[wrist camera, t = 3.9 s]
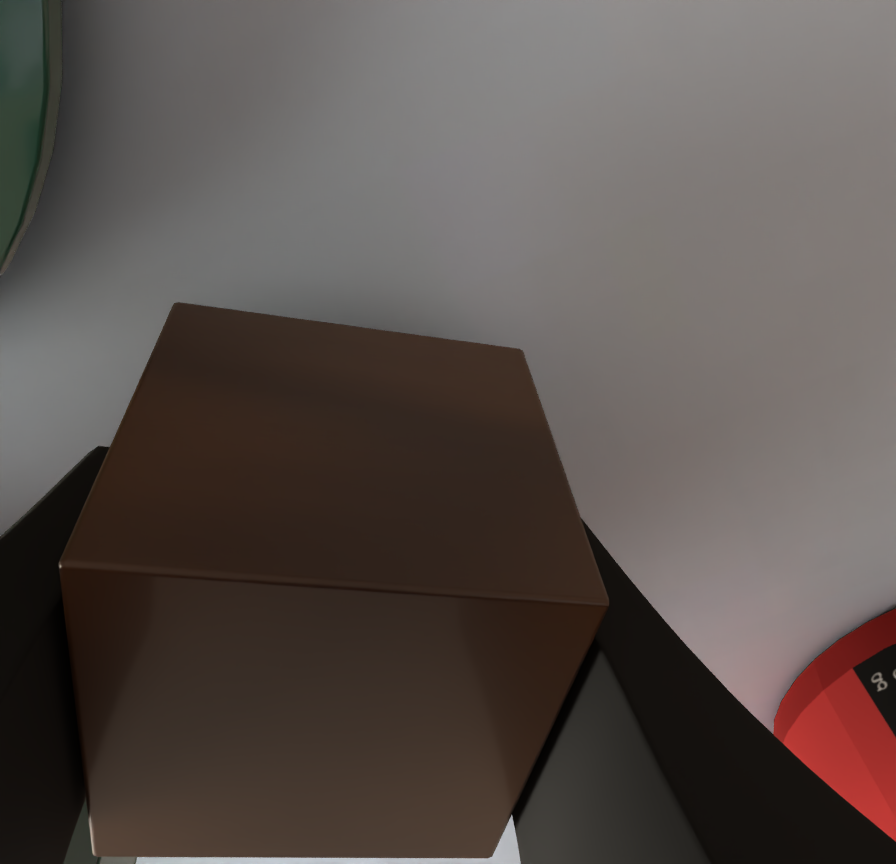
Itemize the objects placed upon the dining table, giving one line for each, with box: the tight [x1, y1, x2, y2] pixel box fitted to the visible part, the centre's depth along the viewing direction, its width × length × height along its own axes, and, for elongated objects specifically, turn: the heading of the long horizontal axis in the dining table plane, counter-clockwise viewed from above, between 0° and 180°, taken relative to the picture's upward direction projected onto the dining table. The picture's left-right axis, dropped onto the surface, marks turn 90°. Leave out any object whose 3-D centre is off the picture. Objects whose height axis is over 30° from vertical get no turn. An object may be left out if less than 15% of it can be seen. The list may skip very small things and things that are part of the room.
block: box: [58, 302, 609, 858], centre depth 9 cm, size 4×4×4 cm
